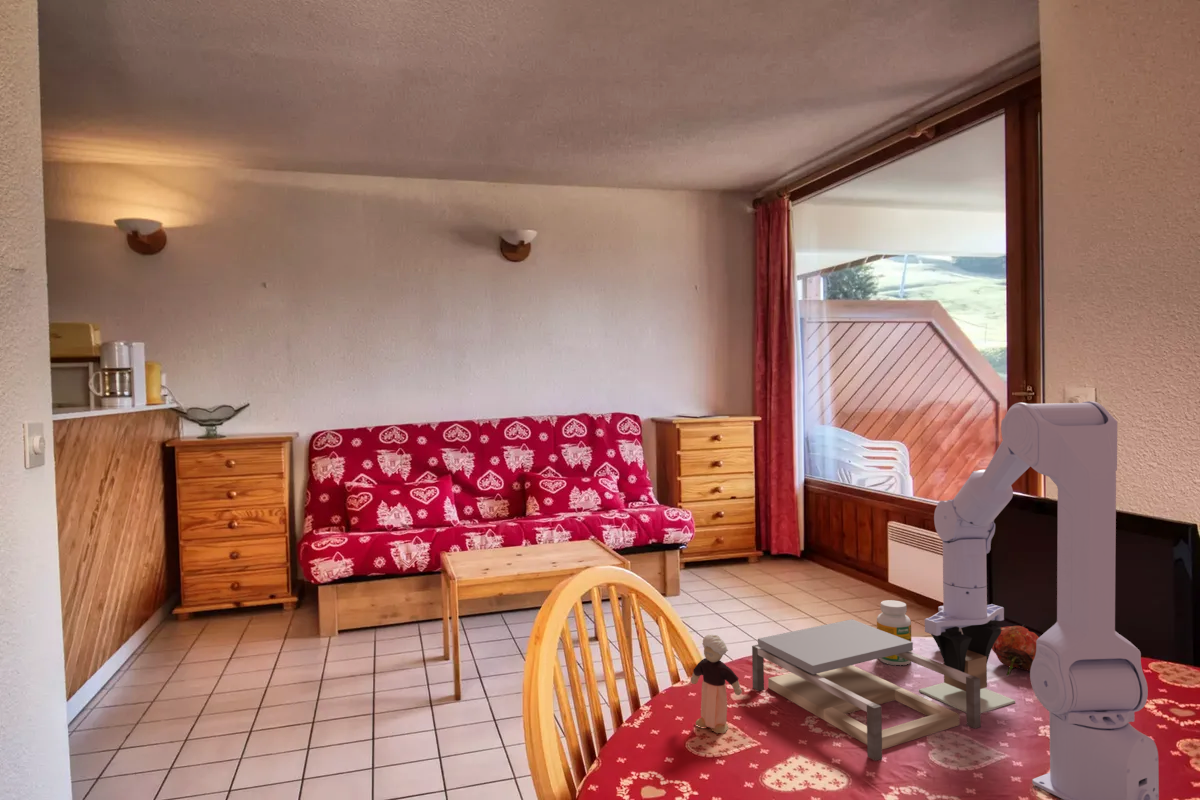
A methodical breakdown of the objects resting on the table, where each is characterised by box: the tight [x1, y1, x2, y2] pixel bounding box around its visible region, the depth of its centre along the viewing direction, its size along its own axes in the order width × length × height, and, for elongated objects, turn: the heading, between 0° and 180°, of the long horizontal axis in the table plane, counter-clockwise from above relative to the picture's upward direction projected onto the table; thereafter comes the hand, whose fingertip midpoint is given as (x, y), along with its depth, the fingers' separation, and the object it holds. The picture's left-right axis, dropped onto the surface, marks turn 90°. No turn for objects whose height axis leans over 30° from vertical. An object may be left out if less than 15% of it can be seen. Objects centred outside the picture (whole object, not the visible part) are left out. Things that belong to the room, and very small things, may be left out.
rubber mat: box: [918, 682, 1016, 714], centre depth 104 cm, size 9×9×1 cm
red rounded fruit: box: [991, 624, 1040, 677], centre depth 114 cm, size 7×7×10 cm
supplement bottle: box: [876, 599, 913, 667], centre depth 119 cm, size 5×5×10 cm
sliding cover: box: [757, 618, 914, 674], centre depth 106 cm, size 12×19×1 cm, turn 115°
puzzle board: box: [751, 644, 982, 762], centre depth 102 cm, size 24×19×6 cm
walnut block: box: [943, 650, 988, 692], centre depth 104 cm, size 4×4×4 cm
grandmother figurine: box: [690, 634, 743, 734], centre depth 96 cm, size 8×4×13 cm, turn 62°
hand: (965, 675), depth 104 cm, fingers closed on walnut block, 4 cm apart
